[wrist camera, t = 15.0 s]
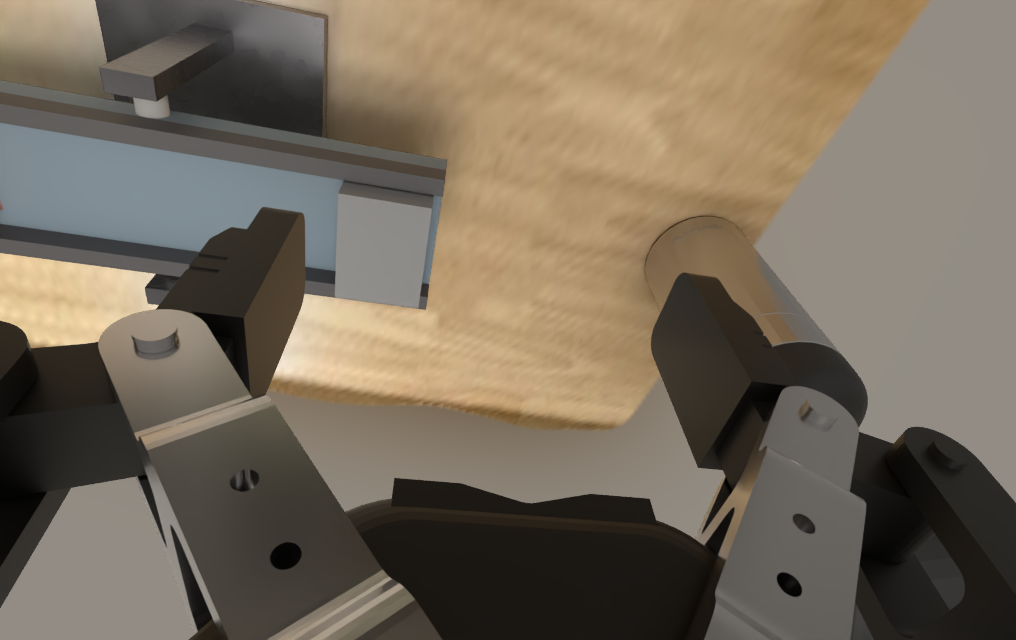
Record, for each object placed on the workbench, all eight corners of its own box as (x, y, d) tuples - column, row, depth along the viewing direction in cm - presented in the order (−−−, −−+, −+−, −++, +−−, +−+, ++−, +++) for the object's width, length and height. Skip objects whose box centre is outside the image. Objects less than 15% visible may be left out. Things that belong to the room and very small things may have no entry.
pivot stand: (327, 15, 38) (274, 60, 28) (323, 246, 48) (284, 342, 38) (99, -33, 36) (-52, -5, 25) (147, 221, 46) (53, 315, 36)
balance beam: (449, 143, 33) (446, 174, 30) (426, 295, 40) (422, 335, 36) (-191, 26, 28) (-291, 45, 24) (-99, 222, 34) (-166, 262, 31)
